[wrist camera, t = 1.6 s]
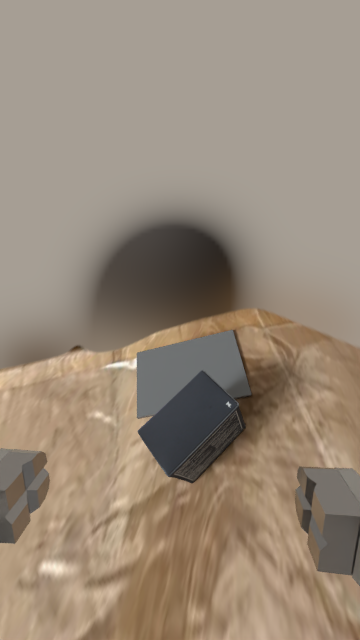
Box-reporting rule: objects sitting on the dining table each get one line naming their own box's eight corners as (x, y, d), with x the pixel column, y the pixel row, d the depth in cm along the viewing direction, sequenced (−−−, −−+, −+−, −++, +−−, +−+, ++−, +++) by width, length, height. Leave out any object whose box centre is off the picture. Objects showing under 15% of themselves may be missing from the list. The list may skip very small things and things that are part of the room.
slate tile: (251, 395, 39) (251, 394, 39) (138, 418, 42) (137, 417, 41) (233, 331, 47) (232, 329, 46) (137, 354, 49) (136, 352, 49)
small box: (214, 394, 40) (201, 365, 32) (247, 426, 37) (243, 404, 28) (162, 445, 38) (134, 429, 30) (192, 485, 34) (169, 480, 26)
